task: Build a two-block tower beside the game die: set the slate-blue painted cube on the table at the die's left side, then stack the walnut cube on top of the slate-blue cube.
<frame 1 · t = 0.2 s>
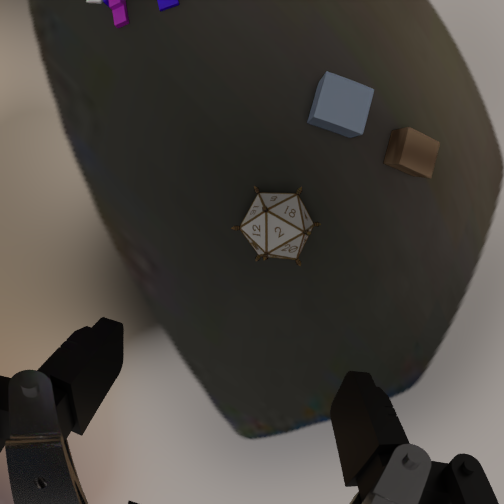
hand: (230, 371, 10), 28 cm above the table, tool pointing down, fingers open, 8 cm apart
game die: (276, 219, 37), on the table
blue block: (334, 109, 33), on the table
walnut block: (402, 153, 34), on the table
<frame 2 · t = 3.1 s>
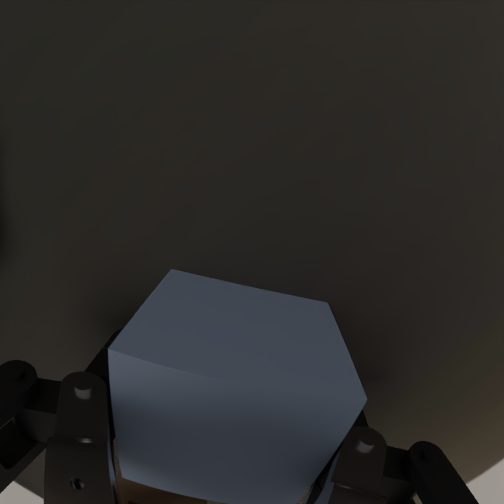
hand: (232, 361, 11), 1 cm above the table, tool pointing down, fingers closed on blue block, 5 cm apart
blue block: (234, 352, 11), on the table, touching gripper
walnut block: (170, 471, 14), on the table
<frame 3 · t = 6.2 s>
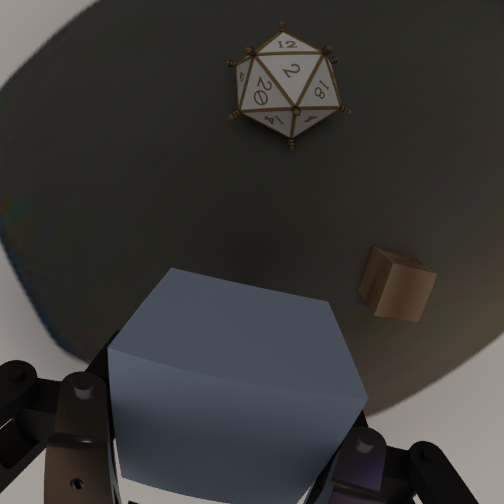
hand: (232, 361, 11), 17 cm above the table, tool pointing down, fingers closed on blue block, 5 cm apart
game die: (283, 95, 23), on the table
blue block: (234, 351, 11), point 16 cm above the table, touching gripper
walnut block: (385, 273, 27), on the table
when the fingers open (2 cm above the table, at t = 9.3 s): blue block drops 1 cm, on the table.
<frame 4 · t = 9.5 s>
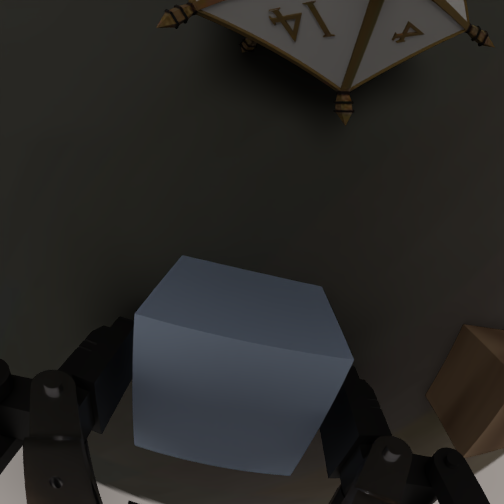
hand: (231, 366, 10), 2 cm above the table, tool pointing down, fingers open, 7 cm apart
game die: (308, 18, 9), on the table
blue block: (237, 331, 13), on the table
walnut block: (471, 362, 13), on the table
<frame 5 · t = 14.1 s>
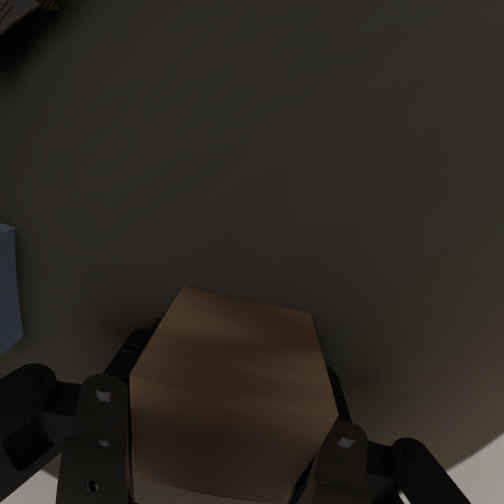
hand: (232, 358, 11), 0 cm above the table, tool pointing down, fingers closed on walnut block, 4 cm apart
game die: (23, 9, 7), on the table
walnut block: (234, 352, 11), on the table, touching gripper
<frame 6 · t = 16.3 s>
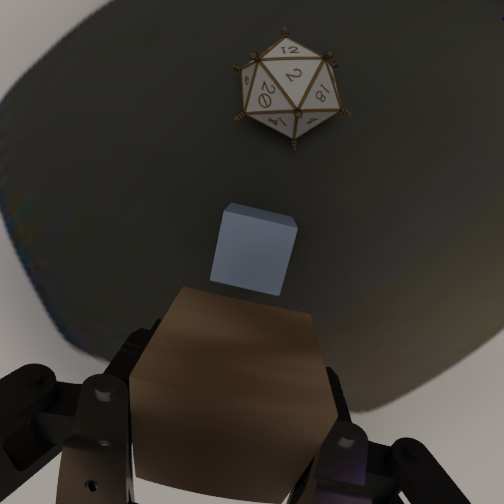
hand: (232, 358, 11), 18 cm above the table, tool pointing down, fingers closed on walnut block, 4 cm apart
game die: (286, 98, 24), on the table
blue block: (255, 239, 28), on the table
walnut block: (234, 353, 11), point 17 cm above the table, touching gripper
when the fingers open (6 cm above the table, at t = 18.8 s): walnut block drops 1 cm, resting on blue block.
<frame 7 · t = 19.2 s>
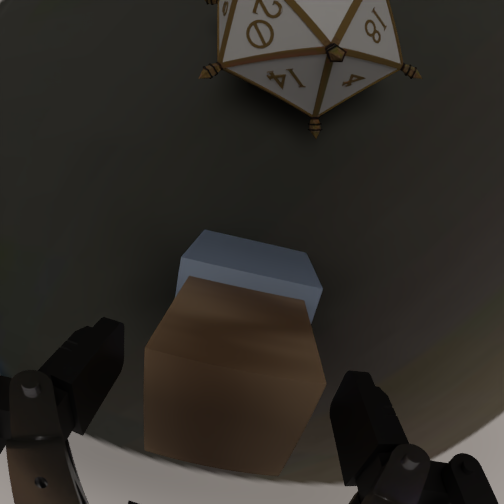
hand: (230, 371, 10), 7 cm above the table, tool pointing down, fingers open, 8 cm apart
game die: (296, 56, 14), on the table
blue block: (244, 288, 17), on the table, touching walnut block
walnut block: (235, 337, 12), point 5 cm above the table, touching blue block
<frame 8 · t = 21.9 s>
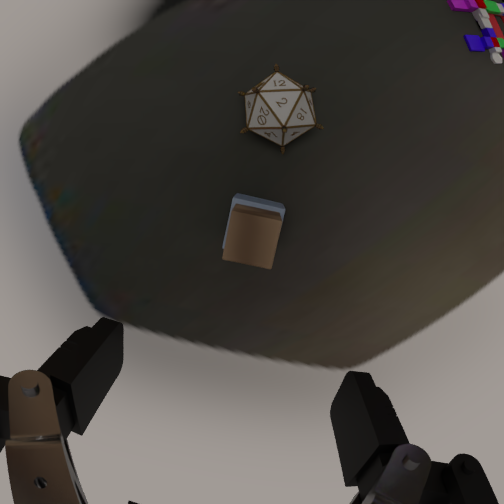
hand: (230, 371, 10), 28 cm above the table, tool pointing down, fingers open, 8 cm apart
game die: (277, 114, 34), on the table
blue block: (254, 220, 37), on the table, touching walnut block
walnut block: (253, 228, 32), point 5 cm above the table, touching blue block
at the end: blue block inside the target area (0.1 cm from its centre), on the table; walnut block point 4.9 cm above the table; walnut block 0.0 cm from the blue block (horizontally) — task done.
